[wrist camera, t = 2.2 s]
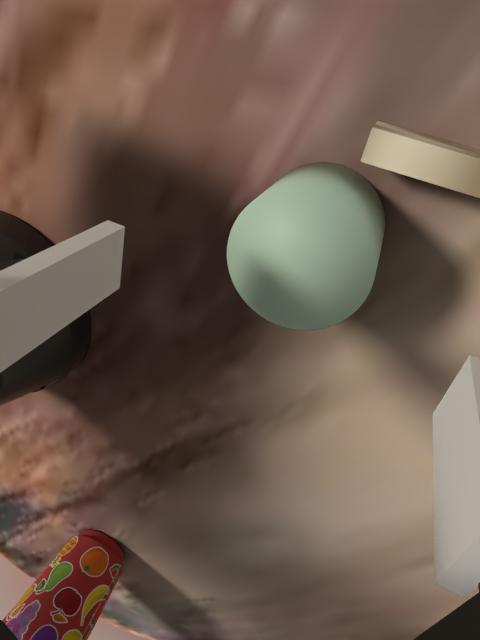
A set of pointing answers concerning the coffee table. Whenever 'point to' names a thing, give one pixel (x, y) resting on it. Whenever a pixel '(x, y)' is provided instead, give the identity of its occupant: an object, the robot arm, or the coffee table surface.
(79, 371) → the coffee table surface
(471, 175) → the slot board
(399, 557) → the coffee table surface
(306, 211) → the pale green rounded lump
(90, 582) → the smoothie
